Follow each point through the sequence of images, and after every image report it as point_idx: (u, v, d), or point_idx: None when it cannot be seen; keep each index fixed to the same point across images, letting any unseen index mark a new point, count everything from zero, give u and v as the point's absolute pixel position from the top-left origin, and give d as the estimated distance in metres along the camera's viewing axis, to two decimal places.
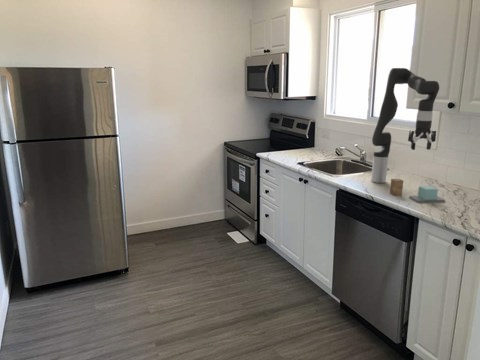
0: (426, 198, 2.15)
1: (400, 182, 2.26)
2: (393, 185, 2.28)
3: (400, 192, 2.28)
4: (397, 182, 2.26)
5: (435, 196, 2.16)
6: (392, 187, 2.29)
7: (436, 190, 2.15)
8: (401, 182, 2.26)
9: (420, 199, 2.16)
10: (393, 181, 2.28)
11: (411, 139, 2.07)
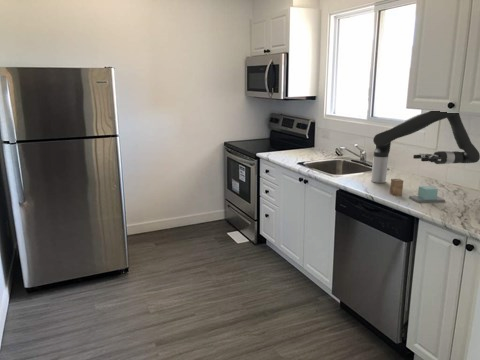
0: (426, 198, 2.15)
1: (400, 182, 2.26)
2: (393, 185, 2.28)
3: (400, 192, 2.28)
4: (397, 182, 2.26)
5: (435, 196, 2.16)
6: (392, 187, 2.29)
7: (436, 190, 2.15)
8: (401, 182, 2.26)
9: (420, 199, 2.16)
10: (393, 181, 2.28)
11: None
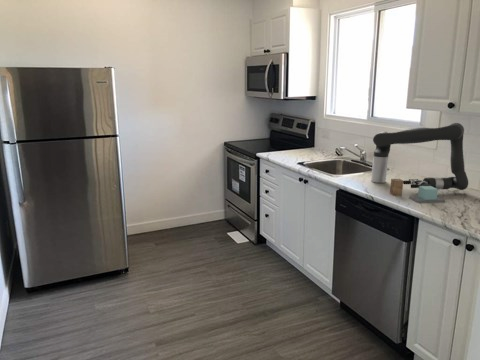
0: (426, 198, 2.15)
1: (400, 182, 2.26)
2: (393, 185, 2.28)
3: (400, 192, 2.28)
4: (397, 182, 2.26)
5: (435, 196, 2.16)
6: (392, 187, 2.29)
7: (436, 190, 2.15)
8: (401, 182, 2.26)
9: (420, 199, 2.16)
10: (393, 181, 2.28)
11: None
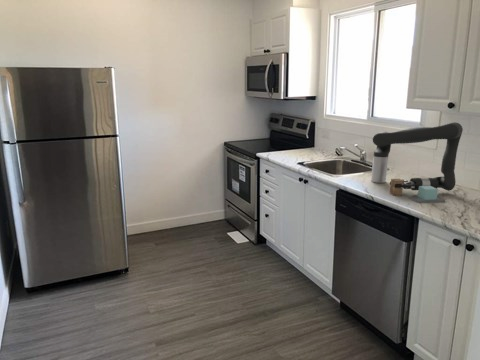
0: (426, 198, 2.15)
1: (400, 182, 2.26)
2: (393, 185, 2.28)
3: (400, 192, 2.28)
4: (397, 182, 2.26)
5: (435, 196, 2.16)
6: (392, 187, 2.29)
7: (436, 190, 2.15)
8: (401, 182, 2.26)
9: (420, 199, 2.16)
10: (393, 181, 2.28)
11: None
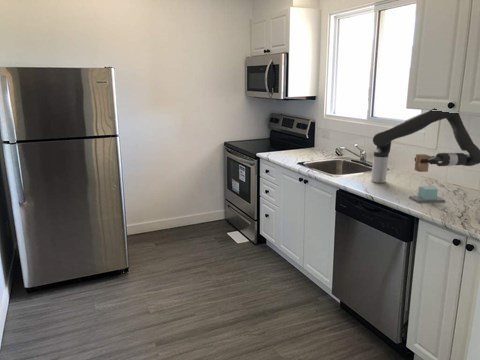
0: (426, 198, 2.15)
1: (426, 157, 2.14)
2: (418, 161, 2.16)
3: (426, 168, 2.16)
4: (423, 157, 2.14)
5: (435, 196, 2.16)
6: (417, 163, 2.17)
7: (436, 190, 2.15)
8: (427, 157, 2.14)
9: (420, 199, 2.16)
10: (418, 156, 2.16)
11: (432, 163, 2.13)
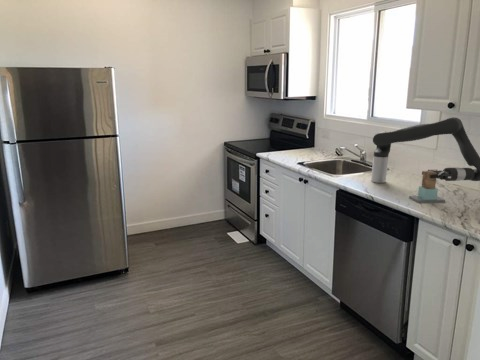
0: (426, 198, 2.15)
1: None
2: (426, 178, 2.15)
3: (434, 185, 2.15)
4: (430, 174, 2.13)
5: (435, 196, 2.16)
6: (424, 180, 2.17)
7: (436, 190, 2.15)
8: None
9: (420, 199, 2.16)
10: (426, 173, 2.15)
11: None
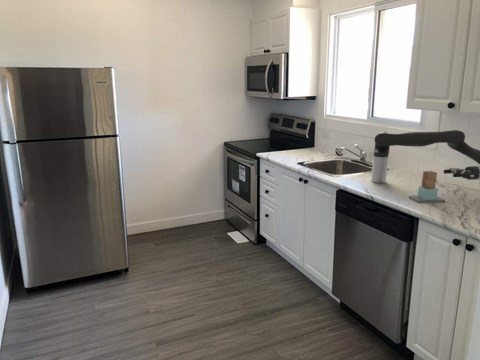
0: (426, 198, 2.15)
1: (433, 174, 2.13)
2: (426, 178, 2.15)
3: (434, 185, 2.15)
4: (430, 174, 2.13)
5: (435, 196, 2.16)
6: (424, 180, 2.17)
7: (436, 190, 2.15)
8: (435, 174, 2.14)
9: (420, 199, 2.16)
10: (426, 173, 2.15)
11: None
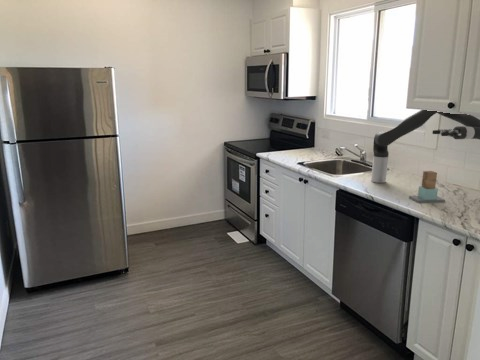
0: (426, 198, 2.15)
1: (433, 174, 2.13)
2: (426, 178, 2.15)
3: (434, 185, 2.15)
4: (430, 174, 2.13)
5: (435, 196, 2.16)
6: (424, 180, 2.17)
7: (436, 190, 2.15)
8: (435, 174, 2.14)
9: (420, 199, 2.16)
10: (426, 173, 2.15)
11: (453, 136, 2.20)
